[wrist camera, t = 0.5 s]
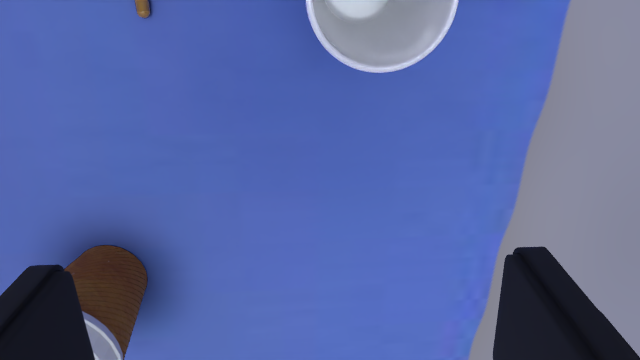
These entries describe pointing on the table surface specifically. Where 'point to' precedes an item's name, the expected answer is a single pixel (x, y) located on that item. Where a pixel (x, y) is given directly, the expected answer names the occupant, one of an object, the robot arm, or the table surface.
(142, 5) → the wooden stick
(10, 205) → the table surface
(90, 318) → the disposable coffee cup
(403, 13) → the drinking glass
